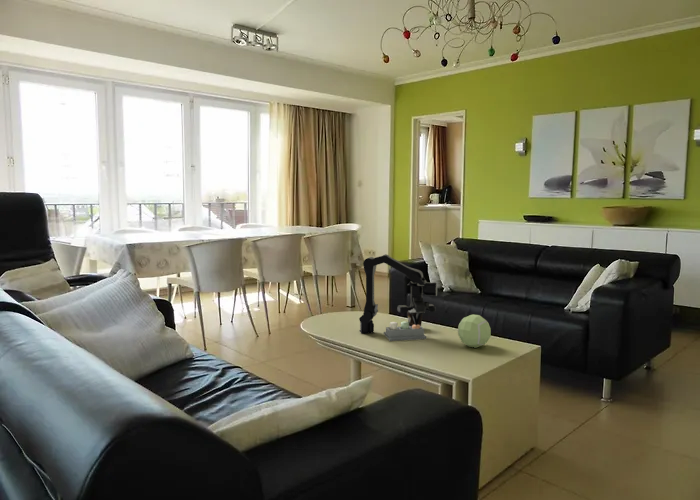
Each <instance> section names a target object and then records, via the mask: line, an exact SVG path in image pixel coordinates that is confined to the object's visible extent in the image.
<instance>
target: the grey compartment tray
mask: <svg viewBox="0 0 700 500" xmlns="http://www.w3.org/2000/svg"><path fill="white" fill-rule="evenodd" d="M383 335H384V336H385V337H386V339H388V341H389V342H394V341H396V342H397V341H413V340H414V341H415V340H427V339H428V337H427V336H426V335H425V328H424V327H423V326H422V325H421V326H420V329H413V328H412V326H409V329H401V326H397V330H390V326H387V327H386V326H385V331H383Z"/></svg>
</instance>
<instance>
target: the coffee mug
mask: <svg viewBox="0 0 700 500" xmlns="http://www.w3.org/2000/svg"><path fill="white" fill-rule="evenodd" d="M415 312H416V310H415ZM406 314H407V322H409V326H412V325H415V323H414V320H413V317H412V315H411V314H410V313H409V312H407V313H406ZM423 315H424V314H422V315H421V317H420V319H419V322H418V324H417V325H420V326H421V327H422V321H423Z"/></svg>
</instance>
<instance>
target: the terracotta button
mask: <svg viewBox="0 0 700 500" xmlns="http://www.w3.org/2000/svg"><path fill="white" fill-rule="evenodd" d="M412 328H413V329H420V325H412Z"/></svg>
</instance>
